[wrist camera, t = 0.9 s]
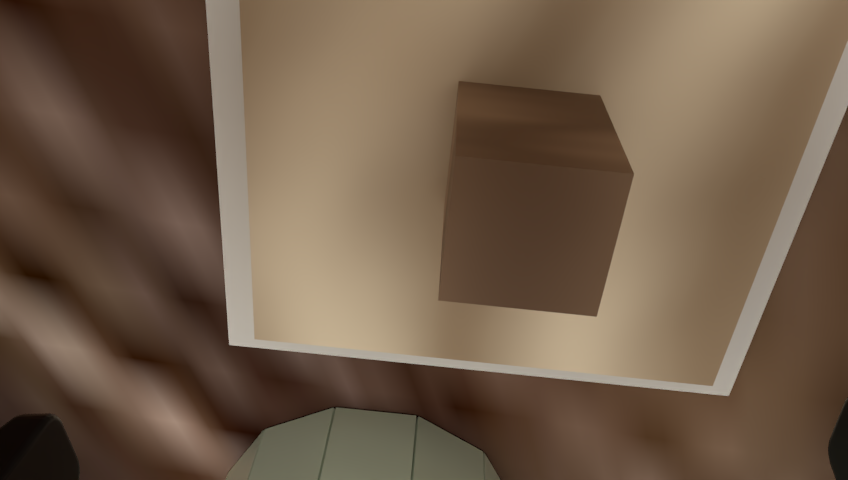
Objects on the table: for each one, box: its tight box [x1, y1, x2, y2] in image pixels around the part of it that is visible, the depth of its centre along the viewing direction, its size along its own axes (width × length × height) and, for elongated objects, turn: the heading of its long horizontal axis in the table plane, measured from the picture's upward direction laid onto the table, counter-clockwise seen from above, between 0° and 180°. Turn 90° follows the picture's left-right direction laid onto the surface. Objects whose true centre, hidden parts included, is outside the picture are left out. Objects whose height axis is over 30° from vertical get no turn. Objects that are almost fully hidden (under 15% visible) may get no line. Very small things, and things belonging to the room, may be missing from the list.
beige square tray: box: [239, 0, 848, 386], centre depth 16 cm, size 13×13×5 cm
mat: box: [206, 0, 848, 396], centre depth 18 cm, size 15×15×1 cm
